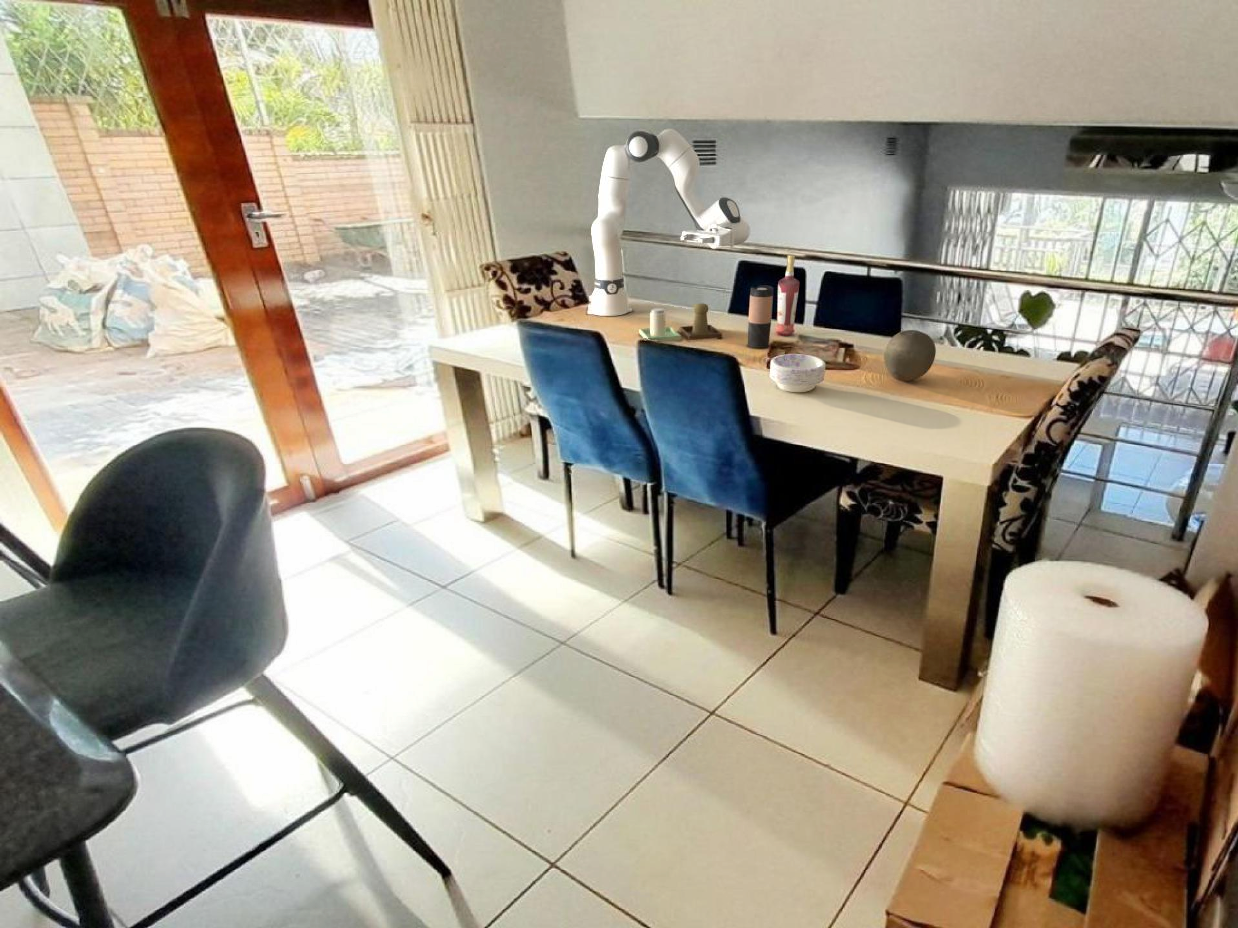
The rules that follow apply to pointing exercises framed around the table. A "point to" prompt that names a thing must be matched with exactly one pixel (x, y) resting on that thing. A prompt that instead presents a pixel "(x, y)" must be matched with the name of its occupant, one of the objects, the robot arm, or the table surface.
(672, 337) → the pale tray
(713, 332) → the dark tray
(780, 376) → the paper bowls
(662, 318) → the salt shaker
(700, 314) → the olive pawn figurine
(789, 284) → the liquor
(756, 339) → the travel mug
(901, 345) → the cantaloupe
